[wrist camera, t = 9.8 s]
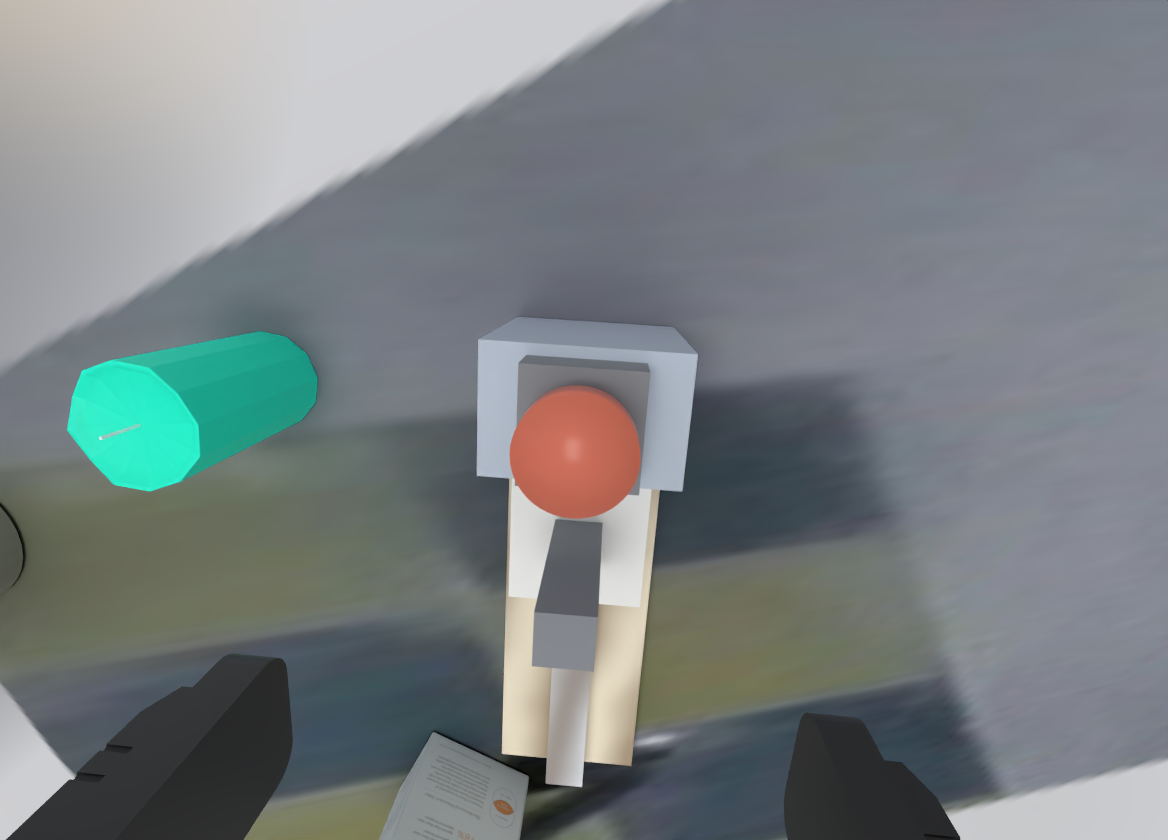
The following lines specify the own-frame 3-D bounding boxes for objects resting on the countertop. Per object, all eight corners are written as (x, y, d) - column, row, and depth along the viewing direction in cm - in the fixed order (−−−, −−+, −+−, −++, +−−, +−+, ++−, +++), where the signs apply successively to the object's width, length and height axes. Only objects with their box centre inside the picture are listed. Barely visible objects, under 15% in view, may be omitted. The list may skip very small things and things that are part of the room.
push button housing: (515, 416, 35) (465, 493, 23) (518, 316, 33) (466, 346, 22) (663, 427, 34) (687, 510, 23) (673, 326, 33) (705, 362, 21)
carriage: (522, 553, 35) (472, 710, 23) (526, 444, 33) (473, 551, 21) (636, 562, 35) (648, 725, 22) (647, 453, 33) (666, 567, 21)
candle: (274, 311, 34) (98, 336, 22) (338, 395, 35) (202, 460, 23) (202, 365, 35) (-2, 416, 23) (266, 444, 36) (102, 530, 25)
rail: (505, 736, 41) (496, 778, 38) (515, 416, 35) (504, 432, 31) (630, 747, 41) (631, 791, 38) (663, 427, 34) (668, 445, 31)
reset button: (523, 477, 23) (507, 513, 20) (526, 370, 22) (511, 389, 19) (631, 486, 23) (634, 523, 20) (641, 378, 22) (646, 399, 18)
